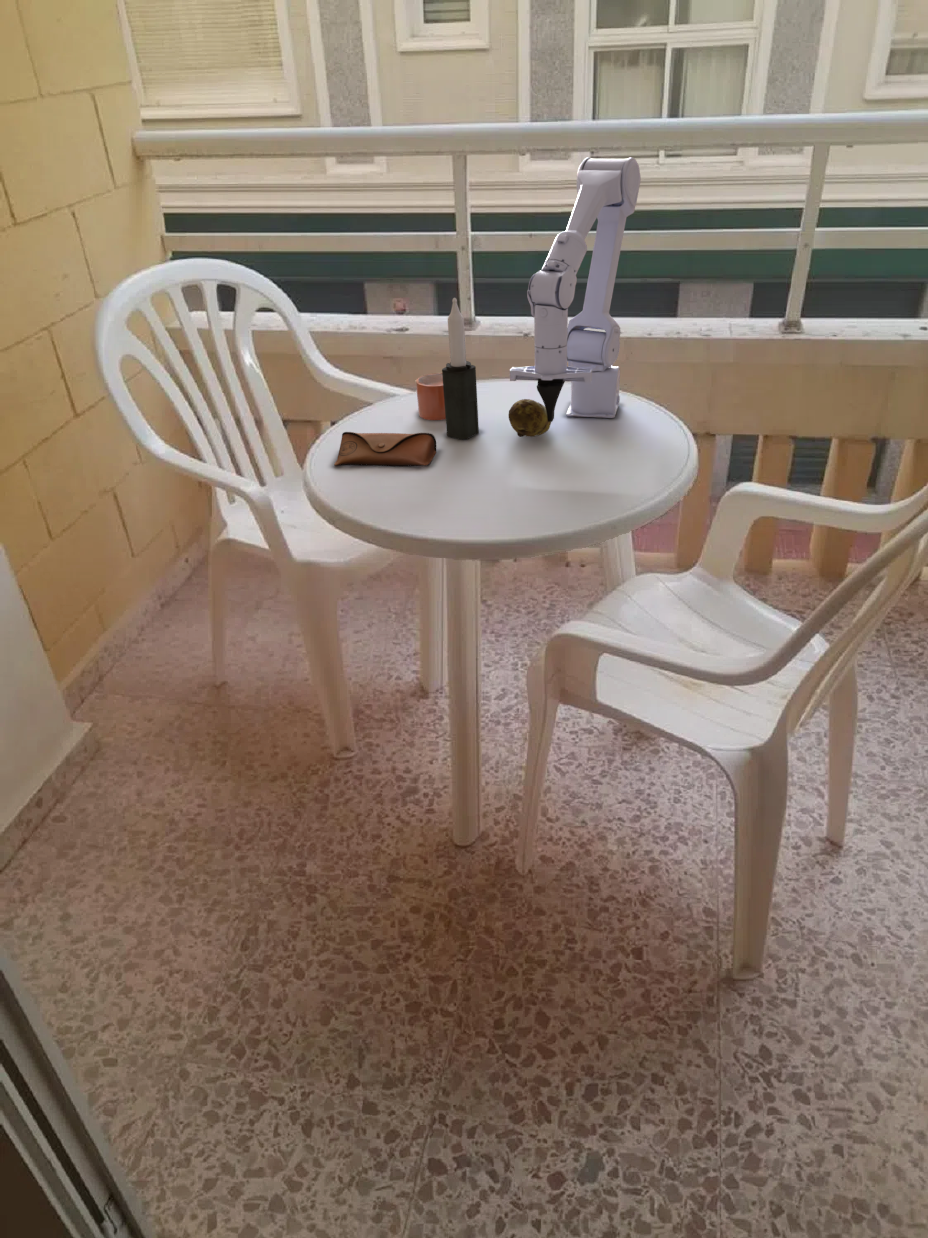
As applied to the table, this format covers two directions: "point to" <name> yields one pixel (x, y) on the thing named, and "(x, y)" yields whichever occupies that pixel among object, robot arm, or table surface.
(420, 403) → the flower pot
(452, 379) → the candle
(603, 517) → the table surface
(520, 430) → the potato
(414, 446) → the sunglasses case
